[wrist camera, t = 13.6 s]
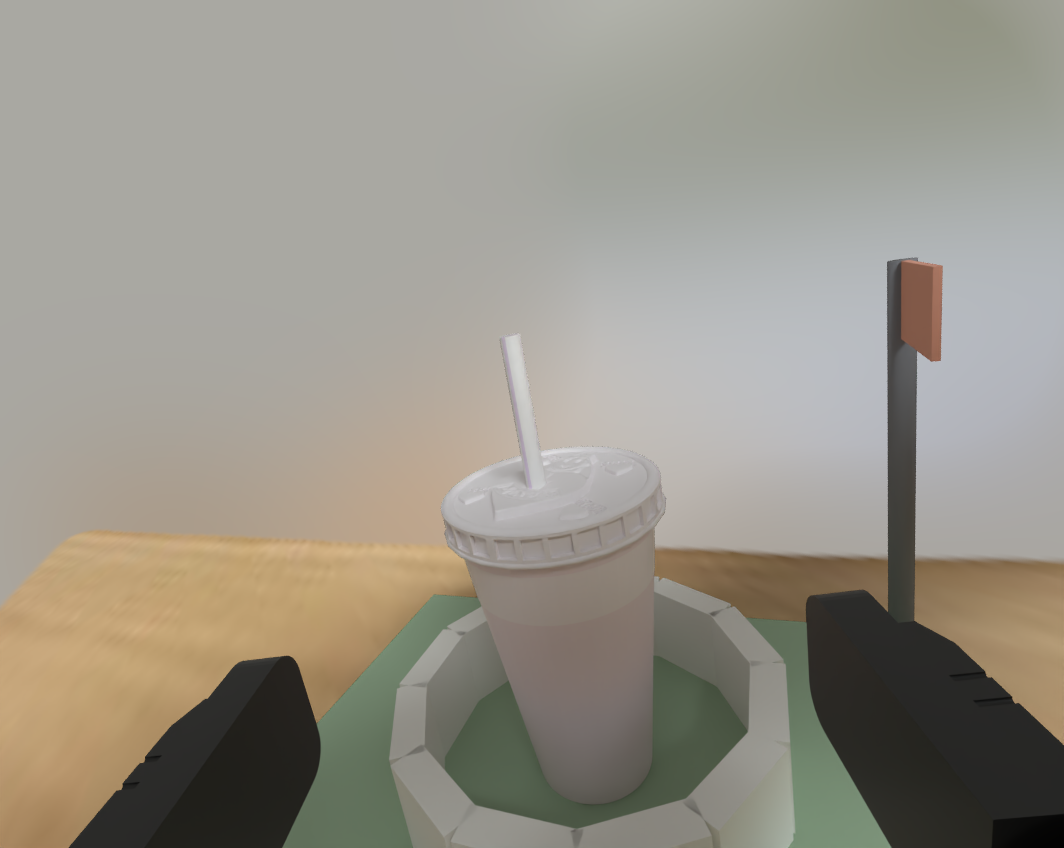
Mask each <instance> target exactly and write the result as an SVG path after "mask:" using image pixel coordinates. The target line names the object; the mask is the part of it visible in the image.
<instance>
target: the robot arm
mask: <svg viewBox="0 0 1064 848" xmlns="http://www.w3.org/2000/svg"><path fill="white" fill-rule="evenodd" d="M806 623H807V645H808V666H809V685H810V692H811V697H812V701H813V704H814V708H815V711H816V714H817V717H818V719H819V722H820V724H821V726H822V728H823V730H824V732H825V734H826V736H827V737H828V739H829V741H830V742H831V744H832V746H833V748H834V749H835V751H836V753H837V755H838V756H839V758H840V760H841V761H842V763H843V765H844V767H845V768H846V770H847V772H848V774H849V775H850V777H851V779H852V780H853V782H854V784H855V786H856V787H857V789H858V791H859V793H860V794H861V796H862V798H863V799H864V801H865V803H866V805H867V806H868V808H869V810H870V812H871V813H872V815H873V817H874V818H875V820H876V822H877V824H878V825H879V827H880V829H881V831H882V832H883V834H884V836H885V837H886V839H887V841H888V843H889V844H890V846H891V848H1064V745H1063V744H1062V743H1061V742H1060V741H1059V740H1058V739H1057V738H1055V737H1054V736H1053V735H1052V734H1051V733H1050V732H1049V731H1048V730H1047V729H1046V728H1045V727H1044V726H1043V725H1042V724H1041V723H1040V722H1038V721H1037V720H1036V719H1035V718H1034V717H1033V716H1032V715H1031V714H1030V713H1029V712H1028V711H1027V710H1026V709H1025V708H1024V707H1022V706H1021V705H1020V704H1019V703H1017V704H1015V703H1014V702H1013V700H1012V696H1011V695H1010V694H1009V693H1008V692H1006V691H1005V690H1004V689H1003V688H1002V687H1001V686H1000V685H999V684H998V683H997V682H996V681H995V680H994V679H993V678H992V677H991V678H988V677H987V676H986V674H985V671H984V670H983V669H982V668H981V667H980V666H979V665H978V664H977V663H976V662H975V661H973V660H972V659H971V658H970V657H969V656H968V655H967V654H966V653H965V652H964V651H963V650H962V649H961V648H960V647H959V646H957V645H956V644H955V643H954V642H952V641H950V640H948V639H947V638H945V637H943V636H941V635H939V634H937V633H935V632H934V631H932V630H930V629H928V628H926V627H924V626H922V625H921V624H919V623H917V622H915V621H910V622H901V623H898V622H897V621H896V620H895V619H894V618H893V617H892V616H891V615H890V614H889V613H888V612H887V611H886V610H885V609H884V608H883V607H882V606H881V605H880V604H879V603H878V602H877V601H876V600H875V598H874V597H873V596H872V595H871V594H869V593H868V592H867V591H865V590H856V591H847V592H839V593H830V594H822V595H813V596H810V597H808V599H807V603H806ZM320 754H321V742H320V735H319V731H318V727H317V724H316V721H315V718H314V715H313V711H312V708H311V705H310V702H309V699H308V695H307V692H306V689H305V686H304V683H303V680H302V676H301V673H300V670H299V667H298V665H297V663H296V661H295V660H294V659H293V658H292V657H290V656H281V657H273V658H264V659H256V660H247V661H241V662H239V663H238V664H236V665H235V666H234V667H233V668H232V669H231V671H230V672H229V673H228V674H227V676H226V677H225V678H224V679H223V681H222V682H221V683H220V684H219V685H218V687H217V688H216V689H215V690H214V692H213V693H212V694H211V695H210V697H209V698H208V699H205V700H203V701H202V702H201V703H200V704H198V705H197V706H196V707H194V708H193V709H192V710H191V711H189V712H188V713H187V714H186V715H184V716H183V717H182V718H181V719H179V720H178V721H177V722H176V723H174V724H173V725H172V726H171V727H170V728H169V729H168V730H167V732H166V733H165V734H164V735H163V736H162V737H161V739H160V740H159V741H158V742H157V743H156V745H155V746H154V747H153V748H152V749H151V750H150V752H149V753H148V754H147V755H146V756H145V762H144V763H140V764H139V765H138V766H137V767H136V768H135V769H134V771H133V772H132V773H131V774H130V775H129V777H128V778H127V779H126V780H125V781H124V782H123V787H122V790H118V791H116V792H115V793H114V794H113V796H112V797H111V798H110V799H109V800H108V801H107V803H106V804H105V805H104V806H103V807H102V809H101V810H100V811H99V812H98V813H97V814H96V816H95V817H94V818H93V819H92V820H91V822H90V823H89V824H88V825H87V826H86V828H85V829H84V830H83V831H82V832H81V833H80V835H79V836H78V837H77V838H76V839H75V841H74V842H73V843H72V844H71V845H70V847H69V848H282V847H283V845H284V843H285V841H286V839H287V837H288V835H289V833H290V831H291V828H292V826H293V824H294V822H295V820H296V818H297V816H298V814H299V812H300V809H301V807H302V805H303V803H304V801H305V799H306V797H307V795H308V793H309V790H310V788H311V786H312V784H313V782H314V780H315V777H316V774H317V771H318V767H319V762H320Z"/></svg>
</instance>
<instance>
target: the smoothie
mask: <svg viewBox="0 0 1064 848" xmlns="http://www.w3.org/2000/svg"><path fill="white" fill-rule="evenodd" d="M499 339H500V344H501V350H502V355H503V360H504V366H505V372H506V377H507V382H508V388H509V393H510V399H511V404H512V410H513V414H514V420H515V425H516V431H517V437H518V442H519V448H520V453H521V455H520V456H516V457H513V458H509V459H506V460H503V461H500V462H498V463H495V464H492V465H490V466H487V467H485V468H483V469H481V470H479V471H476V472H474V473H472V474H471V475H469V476H467V477H466V478H464V479H463V480H461V481H460V482H459V483H457V484H456V485H455V486H454V487H453V488H452V489H451V490H450V491H449V492H448V493H447V495H446V496H445V497H444V499H443V502H442V505H441V513H442V516H443V519H444V523H445V528H446V530H445V537H446V540H447V544H448V547H449V548H451V549H452V550H453V551H454V552H455V553H456V554H457V555H458V556H460V557H461V558H463V559H465V562H466V565H467V568H468V571H469V574H470V577H471V579H472V582H473V585H474V588H475V591H476V594H477V597H478V599H479V601H480V604H481V606H482V609H483V612H484V614H485V617H486V620H487V623H488V625H489V628H490V631H491V633H492V636H493V639H494V642H495V644H496V647H497V650H498V653H499V655H500V658H501V661H502V663H503V666H504V669H505V672H506V674H507V677H508V680H509V682H510V685H511V688H512V691H513V693H514V696H515V699H516V702H517V704H518V707H519V710H520V712H521V715H522V718H523V721H524V723H525V726H526V729H527V732H528V734H529V737H530V740H531V742H532V745H533V748H534V751H535V753H536V756H537V759H538V761H539V764H540V767H541V770H542V772H543V775H544V777H545V779H546V781H547V782H548V784H549V785H550V786H551V788H552V789H553V790H554V791H556V792H557V793H558V794H559V795H561V796H563V797H564V798H566V799H568V800H571V801H574V802H577V803H581V804H590V805H597V804H606V803H610V802H614V801H617V800H619V799H622V798H623V797H625V796H627V795H629V794H630V793H632V792H633V791H634V790H636V789H637V788H638V787H639V786H640V785H641V784H642V782H643V781H644V780H645V778H646V777H647V775H648V773H649V770H650V768H651V764H652V751H653V647H654V571H655V538H654V527H655V526H656V525H657V523H658V522H659V520H660V519H661V517H662V516H663V515H664V513H665V505H666V497H665V496H664V494H663V493H662V488H661V475H660V471H659V469H658V467H657V466H656V465H655V464H654V462H652V461H651V460H649V459H648V458H646V457H645V456H643V455H640V454H637V453H634V452H632V451H628V450H623V449H619V448H610V447H594V446H592V447H591V446H582V447H566V448H557V449H549V450H544V451H540V445H539V439H538V434H537V428H536V422H535V416H534V410H533V405H532V399H531V394H530V388H529V382H528V376H527V371H526V365H525V359H524V353H523V348H522V342H521V336H520V333H516V334H509V335H504V336H501V337H499Z"/></svg>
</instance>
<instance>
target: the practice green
mask: <svg viewBox="0 0 1064 848" xmlns="http://www.w3.org/2000/svg"><path fill="white" fill-rule="evenodd" d="M942 270H943V266H941V265H936V264H930V263H924V262H918V258H908V259H899V260H893V261H888V262H887V321H888V322H887V325H888V326H887V330H888V331H887V333H888V334H887V341H888V343H887V344H888V345H887V346H888V613H889V614H890V615H891V616H892V617H893V618H894V619H895V620H896V621H897V622H898V623H901V622H910V621H914V591H915V493H916V490H915V489H916V394H917V390H916V389H917V351H918V352H919V353H921V354H922V355H923V356H925V357H926V358H927V359H929V360H930V361H940V360H941V320H942V319H941V317H942V272H943V271H942ZM317 727H318V731H319V735H320V742H321V754H320V762H319V767H318V771H317V774H316V777H315V780H314V782H313V784H312V786H311V788H310V790H309V793H308V795H307V797H306V799H305V801H304V803H303V805H302V807H301V809H300V812H299V814H298V816H297V818H296V820H295V822H294V824H293V826H292V828H291V831H290V833H289V835H288V837H287V839H286V841H285V843H284V845H283V847H282V848H891V846H890V844H889V843H888V841H887V839H886V837H885V836H884V834H883V832H882V831H881V829H880V827H879V825H878V824H877V822H876V820H875V818H874V817H873V815H872V813H871V812H870V810H869V808H868V806H867V805H866V803H865V801H864V799H863V798H862V796H861V794H860V793H859V791H858V789H857V787H856V786H855V784H854V782H853V780H852V779H851V777H850V775H849V774H848V772H847V770H846V768H845V767H844V765H843V763H842V761H841V760H840V758H839V756H838V755H837V753H836V751H835V749H834V748H833V746H832V744H831V742H830V741H829V739H828V737H827V736H826V734H825V732H824V730H823V728H822V726H821V724H820V722H819V719H818V717H817V714H816V711H815V708H814V704H813V701H812V697H811V692H810V685H809V666H808V645H807V623H806V622H797V621H784V620H771V619H757V618H745V617H744V616H743V615H742V614H741V612H740V611H739V610H738V609H737V608H736V607H735V606H734V607H731V604H730V603H728V602H725V601H723V600H720V599H717V598H715V597H712V596H710V595H707V594H705V593H702V592H699V591H697V590H694V589H692V588H689V587H687V586H684V585H682V584H679V583H676V582H674V581H671V580H669V579H666V578H663V579H661V580H660V581H659V577H657V576H654V647H653V751H652V764H651V768H650V770H649V773H648V775H647V777H646V778H645V780H644V781H643V782H642V784H641V785H640V786H639V787H638V788H637V789H636V790H634V791H633V792H632V793H630V794H629V795H627V796H625V797H623V798H622V799H619V800H617V801H614V802H610V803H606V804H597V805H590V804H581V803H577V802H574V801H571V800H568V799H566V798H564V797H563V796H561V795H559V794H558V793H557V792H556V791H554V790H553V789H552V788H551V786H550V785H549V784H548V782H547V781H546V779H545V777H544V775H543V772H542V770H541V767H540V764H539V761H538V759H537V756H536V753H535V751H534V748H533V745H532V742H531V740H530V737H529V734H528V732H527V729H526V726H525V723H524V721H523V718H522V715H521V712H520V710H519V707H518V704H517V702H516V699H515V696H514V693H513V691H512V688H511V685H510V682H509V680H508V677H507V674H506V672H505V669H504V666H503V663H502V661H501V658H500V655H499V653H498V650H497V647H496V644H495V642H494V639H493V636H492V633H491V631H490V628H489V625H488V623H487V620H486V617H485V614H484V612H483V609H482V606H481V604H480V601H479V599H478V598H474V597H460V596H447V595H433V596H432V597H431V598H430V600H429V601H428V602H427V603H426V604H425V605H424V606H423V607H422V608H421V609H420V611H419V612H418V613H417V614H416V615H415V616H414V617H413V618H412V619H411V620H410V622H409V623H408V624H407V625H406V626H405V627H404V628H403V629H402V630H401V632H400V633H399V634H398V635H397V636H396V637H395V638H394V639H393V640H392V641H391V643H390V644H389V645H388V646H387V647H386V648H385V649H384V650H383V651H382V652H381V654H380V655H379V656H378V657H377V658H376V659H375V660H374V661H373V662H372V663H371V665H370V666H369V667H368V668H367V669H366V670H365V671H364V672H363V673H362V675H361V676H360V677H359V678H358V679H357V680H356V681H355V682H354V683H353V684H352V686H351V687H350V688H349V689H348V690H347V691H346V692H345V693H344V694H343V695H342V697H341V698H340V699H339V700H338V701H337V702H336V703H335V704H334V705H333V707H332V708H331V709H330V710H329V711H328V712H327V713H326V714H325V715H324V716H323V718H322V719H321V720H320V721H319V722H318V723H317Z"/></svg>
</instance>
